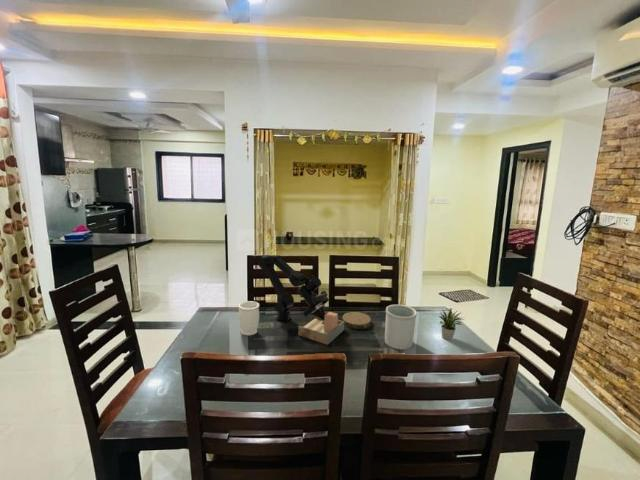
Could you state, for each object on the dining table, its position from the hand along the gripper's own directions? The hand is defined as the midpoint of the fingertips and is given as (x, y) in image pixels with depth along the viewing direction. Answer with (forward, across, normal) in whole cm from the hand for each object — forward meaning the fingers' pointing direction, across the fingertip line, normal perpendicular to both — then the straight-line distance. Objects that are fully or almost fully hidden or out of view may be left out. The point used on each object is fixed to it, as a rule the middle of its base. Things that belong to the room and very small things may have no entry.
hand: (326, 320), depth 175 cm
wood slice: (+11, +22, 0) cm, 24 cm away
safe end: (+7, 0, +4) cm, 8 cm away
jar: (-18, -20, +30) cm, 40 cm away
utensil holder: (+30, +12, -19) cm, 38 cm away
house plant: (+44, +30, -33) cm, 63 cm away
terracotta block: (+6, 0, +2) cm, 6 cm away
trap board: (+1, 0, +9) cm, 10 cm away
